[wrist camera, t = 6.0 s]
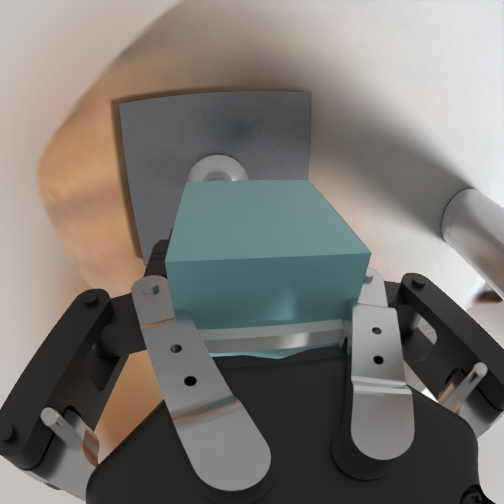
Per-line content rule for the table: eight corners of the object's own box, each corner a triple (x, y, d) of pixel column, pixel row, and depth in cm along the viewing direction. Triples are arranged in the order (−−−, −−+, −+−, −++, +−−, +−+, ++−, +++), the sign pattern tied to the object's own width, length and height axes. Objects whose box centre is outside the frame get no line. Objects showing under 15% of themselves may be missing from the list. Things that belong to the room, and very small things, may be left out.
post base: (307, 92, 26) (329, 93, 20) (299, 251, 35) (313, 283, 29) (122, 103, 24) (98, 107, 19) (146, 260, 34) (135, 293, 28)
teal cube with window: (308, 180, 12) (377, 261, 7) (297, 278, 15) (336, 381, 10) (186, 182, 12) (162, 271, 6) (195, 283, 15) (190, 394, 9)
